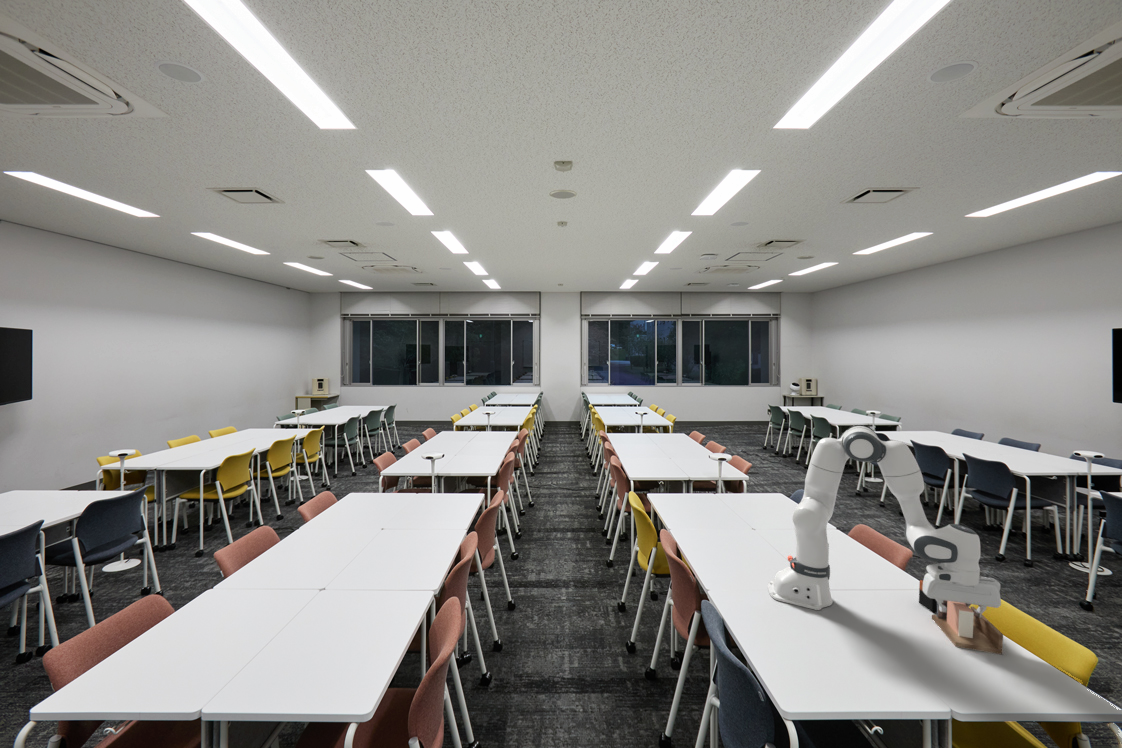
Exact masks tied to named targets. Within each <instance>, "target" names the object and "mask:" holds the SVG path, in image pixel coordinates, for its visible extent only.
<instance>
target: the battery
mask: <svg viewBox="0 0 1122 748" xmlns="http://www.w3.org/2000/svg"><path fill="white" fill-rule="evenodd" d="M923 580H924V579H920V580H919V590H918V593H919V594H918V604H920V605H921V604H922V605H921V606H923V607H924V608H925V609H927V610H928V609H929V612H931V613H935V614H937V601H936V599H932V598H929V597H927V596H926V595H925V593H924V592H923Z"/></svg>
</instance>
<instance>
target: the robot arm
mask: <svg viewBox="0 0 1122 748" xmlns="http://www.w3.org/2000/svg"><path fill="white" fill-rule="evenodd" d="M849 459H852V460H854V461H857V462H863V463H874V464H875V463H876V464H877V465H878V467H879V469H880V472H881V475H882V479H883V480H884V483H885V484H886V486H887V487H888V490H889V491H890V492H891V494H893V496H894V497H895V498H896V499H897V501H898V504H899V507H900V509H901V513H902V514H903V518H904V520H905V523H904V530H903V531H904V537H905V539H906V541H907V542H908V543H909V545H910V546H911V548H912V549H913V551H914V553H916V554H915V555H917V556H918V557H919V558H920V559H922V560H924V561H926V562H929V563H934V564H929V565H927V566H926V571H927V573H925V574H924V576H923V579H922V580H923V592H924V593H925V595H926V596H927V597H929V598H932V599H936V601H937V603H938V604H939V610H940V611H941V612H945V613H947V611H946V610H947V608H946V607H945V606H944V605H942V603H943V600H946V601H953V602H960V603H967V605H968V604H969V605H975V606H978V607H977V608H976V609H977V610H973V612H974V616H975V617H978V618H982V615H983V613H985V611H986V610H987V607H989V608H996V609H997V608H1000V606H1001V605H1002V601H1001V593H1000V590H1001V583H1000V581H999V580H998V579H995V578H993V577H986V576H981V575H980V574H981V572H980V571H981V568H980V564H979V561H980V559H981V540H980V536H979V535H978V534H977V532H975V531H974V530H973V529H971V528H969V527H967V526H964V525H961V524H957V523H950V524H948V525H946V526H943V527H939V528H936V527H935V526H934V525H933V524H932V523H931V522H929V520H928V519H927V516H926V514H925V510H924V508H923V505H922V503H921V498H920V495H921V494H922V493H923V492H924V490H925V482H924V477H923V474H922V471H921V468H920V466H919V464H918V461H917V460H916V458H915V455H914V454H913V453H912V451H911V449H910V448H909V446H908V445H907V444H906V443H905V442H903V441H899V440H887V441H885V440H881V439H880V438H879V437H878V435H877V433H876V432H875V431H874V429H872V428H871V427H870V426H867V425H863V424H856V425H853V426H850V427H848V428H847V429H846V430H845V431H844V432H842V433H841V434H840V435H839V436H838V437H837V438H834V437H823V438H821V439H819V440H818V441H817V444H816V446H815V448H814V450H813V453H812V455H811V456H810V461H809V465H808V469H807V471H806V475H805V479H804V491H803V495H802V498H801V500H800V502H799V503H798V504H797V505H796V506H795V507H794V509H793V511H792V522H793V526H794V527H793V528H794V532H795V543H796V545H795V557H793V556H792V555H791V554H790V555H788V556H787V561H788V562H789V566H787V567H785V568H783V569H781V570H779V571H777V572H776V573H775V576H774V580H770V581H769V582H768V584H767V592H768V594H769V595H770V597H771V598H773V599H774V600H775V601H779V602H784V603H786V604H791V605H794V606H798V607H802V608H803V607H804V608H805V609H811V610H815V611H820V610H822V609H823V608H827V607H830V606H831V605H832V604H833V603H834V602H833V598H832V594H831V590H830V577H831V567H830V564H829V559H830V558H829V556H830V555H829V554H830V543H829V542H828V533H827V526H828V522H829V521H830V520H831V518H832V517H833V513H834V510H835V505H836V500H837V494H838V490H839V486H840V484H841V479H842V478H843V477H842V476H843V474H844V473H843V472H844V469H845V467H846V466H845V465H846V463H847V461H848V460H849Z"/></svg>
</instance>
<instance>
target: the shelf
mask: <svg viewBox="0 0 1122 748" xmlns="http://www.w3.org/2000/svg"><path fill="white" fill-rule="evenodd" d="M969 608H970V609H971V610H972V611H973V610H977V608H976V607H975V606H970V607H969ZM931 619H932V621H933V620H934V621H935V622H934V621H933V622H934V623H935V625H936V626H937V627H938V626H939V627H940V628H941V629H940V628H939V627H938V628H939V629H940V630H941V631H942V633H943V634H944V635H945V636H946V637H947V639H949V641H950V642H951V644H953V645H954V647H956V648H963V649H968V650H974V651H981V652H984V653H992V654H997V655H1003V645H1004V644H1003V641H1004V634H1003V633H1002V632H1001V631H1000V630H999V629H998V628H997V627H996V626H995V625H994V624H993V623H991V622H990V621H989V619H987V618H986V617H985V616H984V615H983V614H982V618H978V617H975V616H974V618H973V638H967V637H961V636H958V634H957V633H956V632H955V631H954V630H953V629H952V628H951V627H950V625H949V624H948V623H947V619H940V618H937V614H931Z"/></svg>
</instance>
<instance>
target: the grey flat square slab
mask: <svg viewBox="0 0 1122 748" xmlns="http://www.w3.org/2000/svg"><path fill="white" fill-rule="evenodd" d="M965 604H966V605H967V606H968V604H967V603H965ZM942 605H944V606H945V607H946V608H947V601H946V600H943V603H942ZM946 611H947V610H946ZM936 615H937V618H940V619H947V613H945V612H941V611H940V610H939V604H938V603H937V613H936Z"/></svg>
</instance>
